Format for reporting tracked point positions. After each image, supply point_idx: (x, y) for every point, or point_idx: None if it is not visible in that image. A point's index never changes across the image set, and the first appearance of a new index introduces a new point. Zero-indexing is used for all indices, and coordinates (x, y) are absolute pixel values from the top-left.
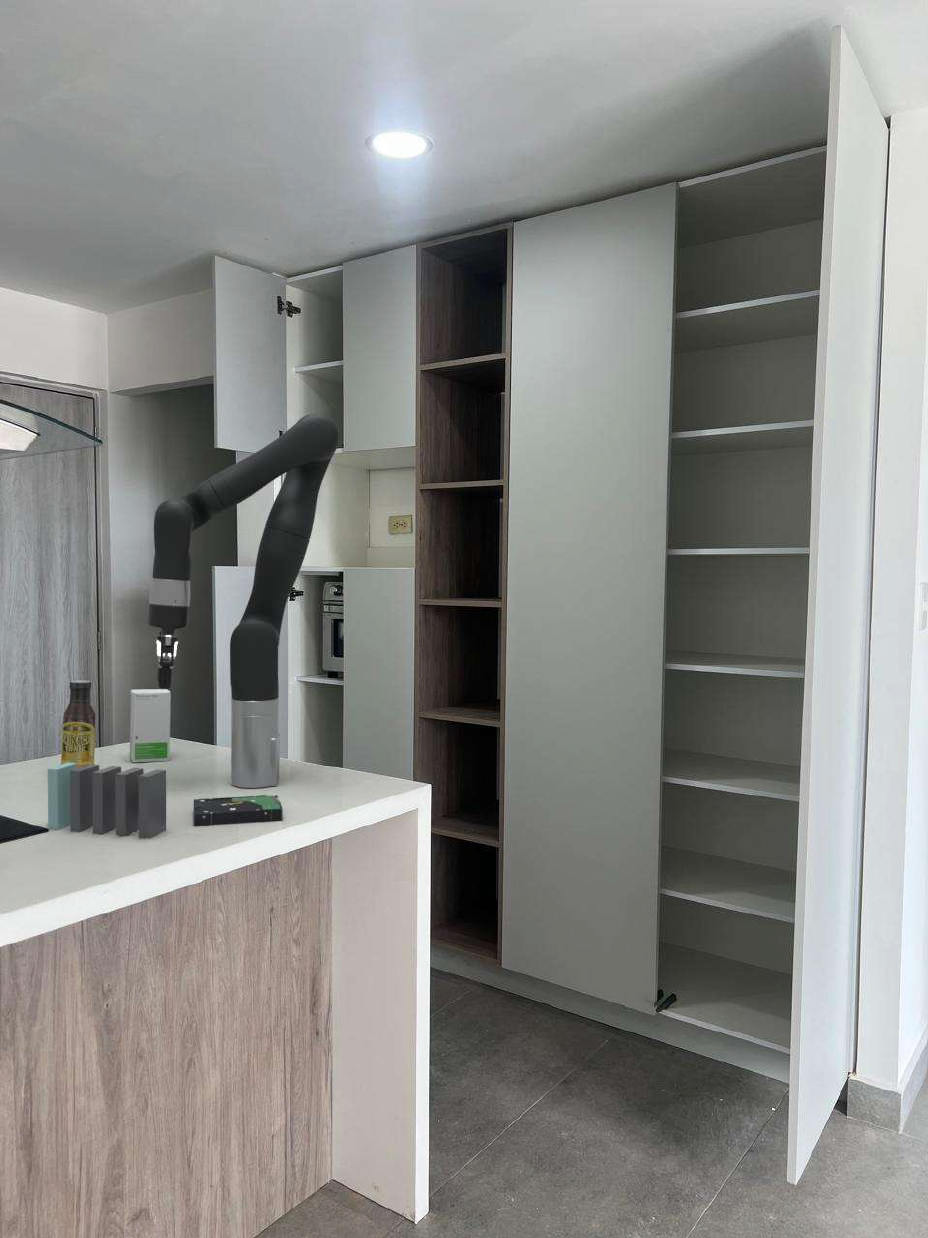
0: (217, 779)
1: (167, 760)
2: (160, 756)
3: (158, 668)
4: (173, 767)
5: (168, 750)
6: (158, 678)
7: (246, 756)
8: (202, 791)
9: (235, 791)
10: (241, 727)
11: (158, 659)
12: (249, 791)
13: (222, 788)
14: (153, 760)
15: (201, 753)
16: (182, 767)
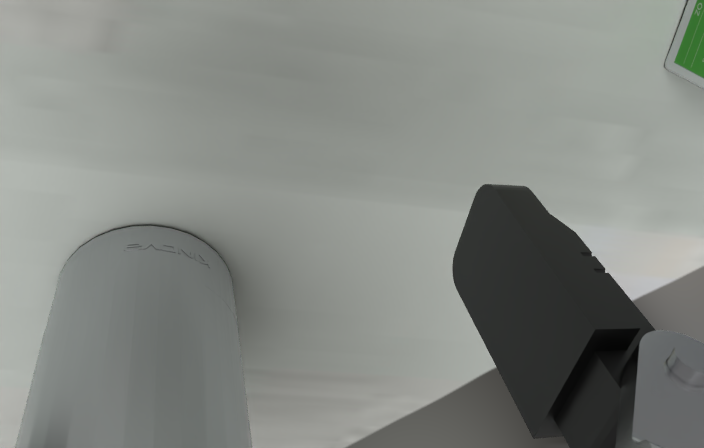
0: (264, 190)
1: (666, 60)
2: (689, 38)
3: (580, 284)
4: (548, 65)
5: (693, 78)
6: (499, 209)
7: (43, 348)
8: (63, 112)
9: (32, 224)
10: (34, 439)
11: (691, 378)
12: (20, 267)
13: (99, 188)
14: (689, 4)
15: (701, 188)
16: (528, 97)
